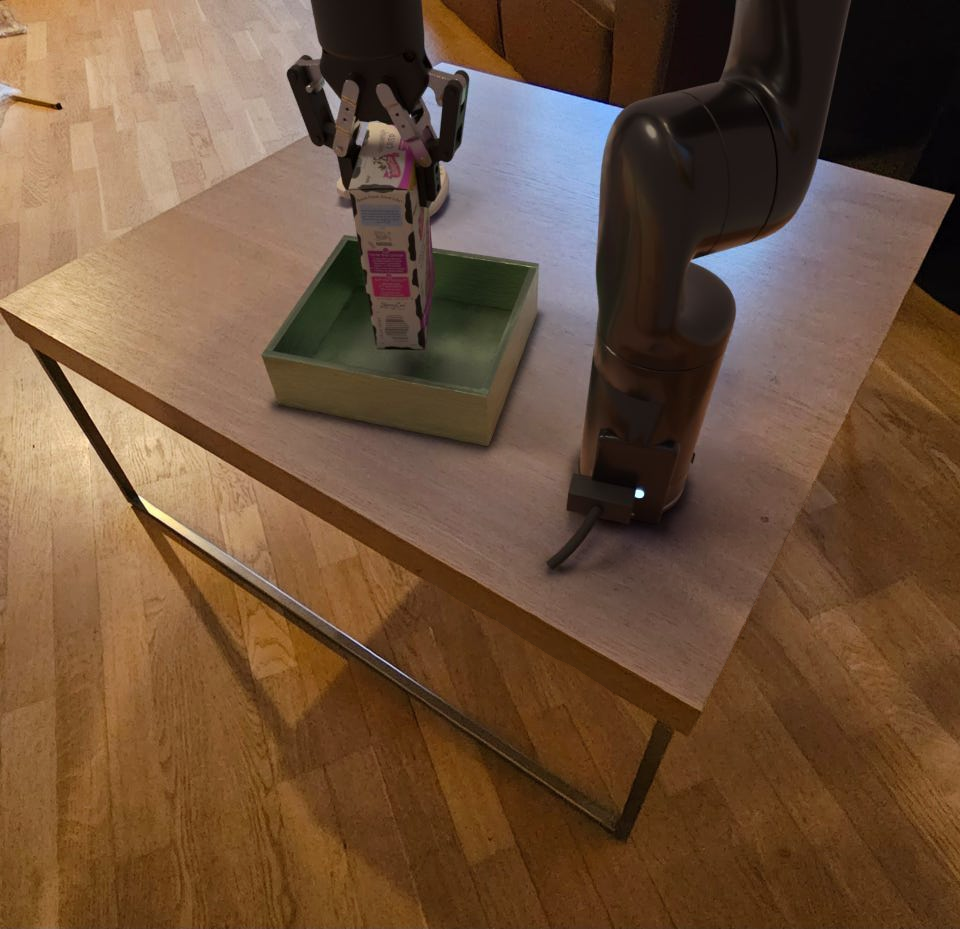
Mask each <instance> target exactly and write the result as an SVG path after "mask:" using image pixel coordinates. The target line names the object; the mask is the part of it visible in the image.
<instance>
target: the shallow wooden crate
mask: <svg viewBox="0 0 960 929" xmlns="http://www.w3.org/2000/svg"><path fill="white" fill-rule="evenodd" d="M432 250H433V262H434V274H435V280H434V287H433V295H432V302H431V309H430V316H429V324H428V332H427V340H426V348H425V350H415V351H412V350H380V349H376V344H375V338H374V332H373V326H372V321H371V315H370V309H369V303H368V297H367V292H366V286H365V280H364V273H363V268H362V263H361V257H360V251H359V245H358V239H357V236H354V235H348V234H344V235H342V237H341V238H340V240H339V242H338V243H337V244H336V246H335V247H334V249H333V250H332V251H331V253H330V254H329V256H328V257H327V259H326V260H325V261H324V263H323V265H322V266H321V267H320V269H319V271H318V272H317V273H316V275H315V276H314V278H312V281H311V282H310V283H309V285H308V286H307V287H306V289H305V291H304V292H303V293H302V294H301V297H300V298H299V299H298V301H297V302H296V303H295V305H294V306H293V308H292V310H291V311H290V312H289V314H288V315H287V317H286V318H285V320H284V321H283V322H282V324H281V326H280V327H279V328H278V330H277V331H276V332H275V334H274V336H273V337H272V338H271V340H270V341H269V343H268V344H267V346H266V347H265V349H264V350H263V351H262V353H261V355H260V356H261V358H262V361H263V364H264V367H265V369H266V372H267V376H268V378H269V381H270V383H271V386H272V389H273V392H274V394H275V397H276V401H277V404H278V405H281V406H286V407H290V408H295V409H301V410H306V411H310V412H314V413H319V414H325V415H330V416H335V417H340V418H346V419H350V420H356V421H360V422H365V423H370V424H375V425H380V426H386V427H390V428H394V429H400V430H405V431H411V432H414V433H420V434H425V435H429V436H433V437H434V436H435V437H439V438H445V439H449V440H454V441H459V442H464V443H470V444H475V445H479V446H485V447H490V443H491V441H492V438H493V435H494V433H495V430H496V427H497V424H498V422H499V418H500V416H501V413H502V411H503V409H504V406H505V403H506V400H507V397H508V395H509V392H510V389H511V386H512V384H513V381H514V379H515V375H516V372H517V370H518V367H519V365H520V361H521V359H522V357H523V353H524V351H525V348H526V345H527V343H528V340H529V337H530V334H531V332H532V329H533V326H534V323H535V321H536V318H537V315H538V301H539V300H538V297H539V276H540V263H538V262H531V261H525V260H519V259H510V258H505V257H497V256H491V255H484V254H477V253H471V252H464V251H456V250H451V249H450V250H449V249H443V248H436V247H432Z"/></svg>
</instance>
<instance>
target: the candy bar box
mask: <svg viewBox="0 0 960 929" xmlns="http://www.w3.org/2000/svg"><path fill="white" fill-rule="evenodd" d="M362 140H363V141H362V144H361V150H360V153H359V156H358V159H357V162H356V165H355V169H354V172H353V175H352V178H351V182H350V186H349V189H348V190H349V193H350V198H351V199H350V202H351V209H352V216H353V221H354V227H355V233H356V237H357V239H358V245H359V251H360V257H361V263H362V268H363V273H364V280H365V286H366V292H367V297H368V303H369V309H370V315H371V321H372V326H373V332H374V338H375V344H376V349H380V350H412V351H415V350H425V348H426V340H427V332H428V324H429V316H430V309H431V302H432V295H433V287H434V280H435V274H434V262H433V250H432V248H433V241H432V240H433V239H432V228H431V216H430V215H429V208H425V207H420V205H419V196H418V188H417V180H416V170H415V166H416V165H417V163H418V162H417V160H416V158H415V156H414V154H413V152H412V150H411V148H410V146H409V144H408V143H407V142H404V141H403V140H402V138H401V136H400V134H399V132H398V130H397V129H396V127H395V125H387V124H385V123H382V122H379V121H373V122H368V124H367V127H366V131H365V134H364V136H363V139H362Z"/></svg>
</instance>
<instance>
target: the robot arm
mask: <svg viewBox="0 0 960 929" xmlns="http://www.w3.org/2000/svg"><path fill="white" fill-rule="evenodd" d="M851 3H852V0H735V5H734V6H735V7H734V15H733V21H732V30H731V35H730V36H731V37H730V42H729V47H728V52H727V56H726V60H725V64H724V68H723V71H722V73H721V76H720V78H719V80H718V81H715V82H711V83H705V84H702V85H697V86H694V87H688V88H685V89H680V90H676V91H672V92H667V93H662V94H658V95H655V96H650V97H647V98H643V99H639V100H636V101H634V102H631V103H630V104H629V105H627V106H625V107H624V108H623V109H621V111H620V112H619V113H618V115H617V116H616V118H615V119H614V121H613V123H612V124H611V126H610V129H609V132H608V134H607V137H606V141H605V144H604V148H603V154H602V160H601V161H602V162H601V166H600V179H599V180H600V181H599V195H598V196H599V199H598V200H599V202H598V224H597V239H596V240H597V242H596V253H595V284H596V285H595V286H596V295H597V307H598V309H597V318H596V329H595V335H594V336H595V338H594V344H593V345H594V346H593V352H592V360H591V366H590V367H591V368H590V373H589V374H590V375H589V383H588V391H587V399H586V407H585V415H584V422H583V423H584V424H583V430H582V431H583V432H582V438H581V439H582V440H581V448H580V456H579V458H578V463H577V473H575V472H573V473H572V475H571V480H570V484H569V487H568V492H567V498H566V507H565V511H566V512H571V513H574V514H579V515H585V516H586V517H585V518H584V520H583V521H582V523H581V524H580V526H579V527H578V528H577V530H576V531H575V532H574V534H573V535H572V536H571V537H570V539H569V540H568V541H567V542H566V543H565V545H563V546H562V547H561V548H560V549H559V550H558V551H557V552H556V553H555V554H553V556H551V557H550V558H548V560H546V565H547V566H548V567H549V569H550V570H552V571H555V570H556V569H557V568H558V567H559V566H560V565H562V564H563V563H564V562H566V561H567V559H569V558H570V557H571V556H572V555H573V554H574V553H575V552H576V551H577V550H578V549H579V547H580V546H581V545H582V544H583V543H584V541H585V540H586V539H587V537H588V536H589V534H590V532H591V531H592V529H593V528H594V527H595V525H596V523H597V522H598V521H599V519H602V520H603V519H604V520H607V521H612V522H617V523H622V524H625V525H626V524H627V525H629V524H630V521H631V520H636V521H641V522H646V523H650V524H655V525H657V524H659V523H660V521H661V518H662V514H664V513H665V512H667V511H669V510H670V509H671V508H673V507H674V506H675V505H676V504H677V503H678V501H679V500H680V499H681V497H682V495H683V493H684V489H685V486H686V482H687V477H688V476H687V475H688V473H689V470H690V466H691V465H693V464H694V462H695V458H696V455H697V454H696V453H695V449H696V447H697V443H698V441H699V437H700V434H701V430H702V426H703V423H704V420H705V417H706V414H707V411H708V408H709V404H710V402H711V399H712V395H713V391H714V389H715V385H716V382H717V378H718V376H719V373H720V370H721V367H722V364H723V360H724V357H725V353H726V351H727V347H728V344H729V342H730V339H731V335H732V332H733V329H734V325H735V321H736V318H737V317H736V316H737V305H736V298H735V297H734V294H733V292H732V290H731V289H730V286H728V284H726V282H724V280H723V279H722V278H720V277H719V276H718V275H717V274H716V273H714V272H713V271H712V270H710V269H708V268H706V267H704V266H702V265H699V264H698V263H695V262H692V261H693V260H697V259H700V258H703V257H707V256H709V255H714V254H717V253H720V252H724V251H728V250H731V249H734V248H738V247H741V246H744V245H745V246H746V245H749V244H752V243H755V242H759V241H760V240H763V239H765V238H768V237H769V236H772V235H773V234H775V233H777V232H779V231H780V230H782V229H783V228H784V227H785V226H786V225H788V223H789V222H791V221H792V219H793V218H794V217H795V215H796V214H797V212H798V210H799V209H800V207H801V205H802V204H803V202H804V200H805V198H806V195H807V193H808V191H809V188H810V186H811V183H812V180H813V177H814V174H815V171H816V168H817V164H818V160H819V156H820V152H821V148H822V143H823V139H824V136H825V135H824V134H825V129H826V124H827V120H828V114H829V110H830V106H831V99H832V95H833V90H834V86H835V80H836V76H837V70H838V64H839V61H840V60H839V59H840V55H841V50H842V45H843V40H844V36H845V31H846V26H847V21H848V17H849V11H850V7H851ZM310 4H311V10H312V15H313V16H312V17H313V20H314V26H315V32H316V36H317V41H318V44H319V46H320V47H321V55H320V58H317V59H313V57H312V56H310V55H308V54H303V55H301V56H300V57H299V58H298V59H297V60H296V61H295V62H294V63H293V64H292V65H291V66H290V67H289V68H288V69H287V70H286V78H287V80H288V83H289V86H290V90H291V92H292V94H293V96H294V99H295V102H296V104H297V108H298V110H299V112H300V115H301V118H302V121H303V123H304V125H305V128H306V131H307V133H308V136H309V139H310V141H311V143H312V144H313V145H314V146H315V147H320V148H321V147H323V146H325V147H327V148H329V149H331V150H332V152H333V153H334V154H335V155H336V158H337V162H338V169H339V173H340V177H341V179H342V184H343V186H344V188H345V189H346V190H348V189H349V186H350V182H351V178H352V175H353V172H354V169H355V165H356V162H357V159H358V156H359V153H360V150H361V146H362V144H357V141H358V139H359V137H360V132H361V128H362V125H363V123H369V122H382V123H385V124H387V125H395V127H396V129H397V130H398V132H399V134H400V136H401V138H402V140H403V141H404V142H407V143H408V144H409V146H410V148H411V150H412V152H413V154H414V156H415V158H416V160H417V162H418V163H417V165H416V166H415V170H416V180H417V188H418V196H419V205H420V207H425V208H429V207H430V205H431V203H432V202H434V201H435V199H436V198H437V196H438V194H439V193H440V190H441V178H440V165H441V164H440V162H443V163H450V162H451V161H452V160H453V159H454V156H455V154H456V152H457V150H458V149H459V148H460V147H461V145H462V143H463V135H464V127H465V120H466V119H465V118H466V110H467V104H468V103H467V102H468V96H469V95H468V94H469V88H470V76H469V74H468V73H467V71H465V70H463V69H457V70H456V71H455V72H454V74H453V73H449V72H445V71H444V70H443V71H442V70H440V69H439V70H438V69H436V68H434V67H433V64H432V62H431V61H430V58H429V57H428V54H427V50H426V47H425V46H426V45H425V26H424V13H423V12H424V11H423V1H422V0H310ZM325 84H328V86H329V87H330V89H331V90H332V91H333V92H334V94H335V95H336V96H337V97H338V99H339V100H340V102H339V103H340V104H339V108H338V113H337V116H336V121H335V117H334V114H333V111H332V109H331V106H330V104H329V101H328V97H327V95H326V94H327V93H326V91H325V89H324V86H325ZM428 88H430V89H431V90H432V91H433V93H434V98H435V102H436V105H437V106H438V107H440V108H441V113H440V114H441V115H440V125H439V134H438V135H439V136H438V135H437V134H436V131H435V129H434V126H433V125H432V123H431V114H430V111H429V110H428V107H427V106H426V103H425V101H424V99H423V95H424V94H425V92H426V91H427V89H428ZM439 164H440V165H439ZM349 194H350V193H349Z"/></svg>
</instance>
